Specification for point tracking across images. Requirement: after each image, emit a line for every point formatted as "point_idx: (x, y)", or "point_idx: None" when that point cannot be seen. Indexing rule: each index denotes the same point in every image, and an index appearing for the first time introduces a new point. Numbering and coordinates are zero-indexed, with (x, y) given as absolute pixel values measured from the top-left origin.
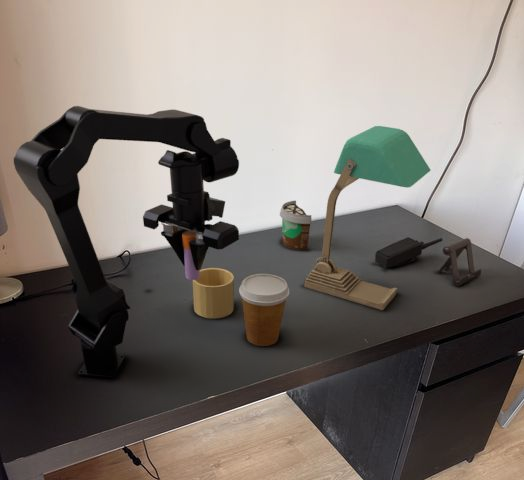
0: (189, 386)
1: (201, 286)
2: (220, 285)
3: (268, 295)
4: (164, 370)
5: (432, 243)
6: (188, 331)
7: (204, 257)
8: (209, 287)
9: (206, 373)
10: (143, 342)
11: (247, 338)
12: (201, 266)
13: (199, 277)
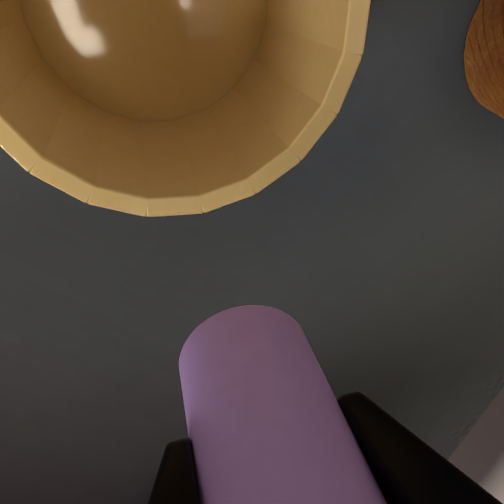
0: (444, 395)
1: (217, 206)
2: (333, 89)
3: None
4: None
5: None
6: (235, 253)
7: (478, 488)
8: (280, 174)
9: (453, 339)
10: (171, 405)
11: (485, 107)
12: (378, 408)
13: (299, 326)
